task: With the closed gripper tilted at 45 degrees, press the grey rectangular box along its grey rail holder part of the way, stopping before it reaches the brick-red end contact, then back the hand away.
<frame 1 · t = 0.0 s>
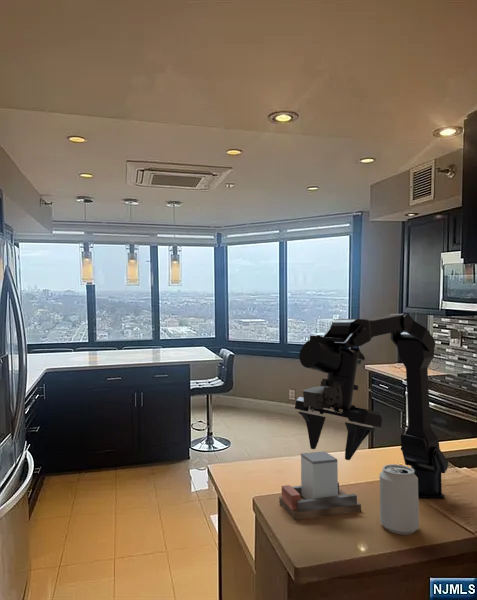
hand: (329, 454, 89), 15 cm above the countertop, tool pointing down, fingers open, 9 cm apart
grey rectangular box: (319, 477, 100), point 7 cm above the countertop, slide at 0.0 cm
can: (399, 528, 90), on the countertop
grey rail holder: (319, 507, 100), on the countertop
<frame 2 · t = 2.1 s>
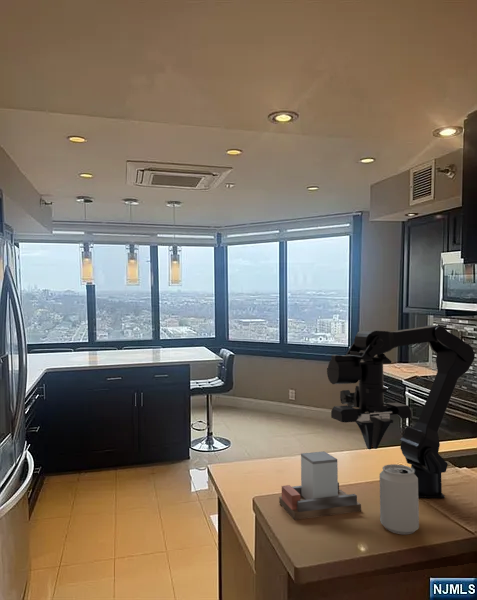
hand: (372, 448, 105), 12 cm above the countertop, tool pointing down, fingers closed
nothing on the countertop moved.
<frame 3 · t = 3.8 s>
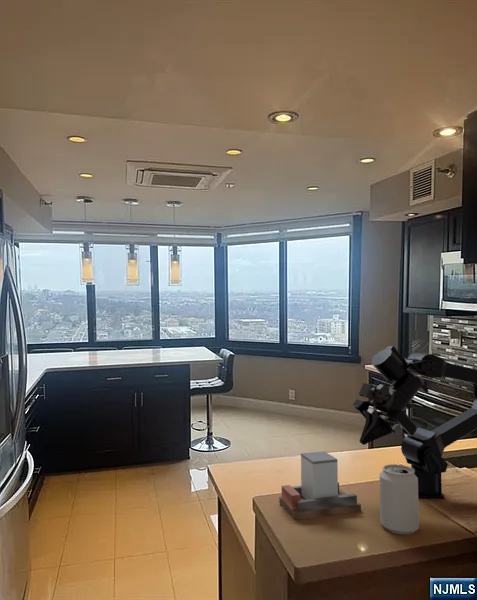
hand: (361, 443, 104), 14 cm above the countertop, tool tilted 45°, fingers closed
nothing on the countertop moved.
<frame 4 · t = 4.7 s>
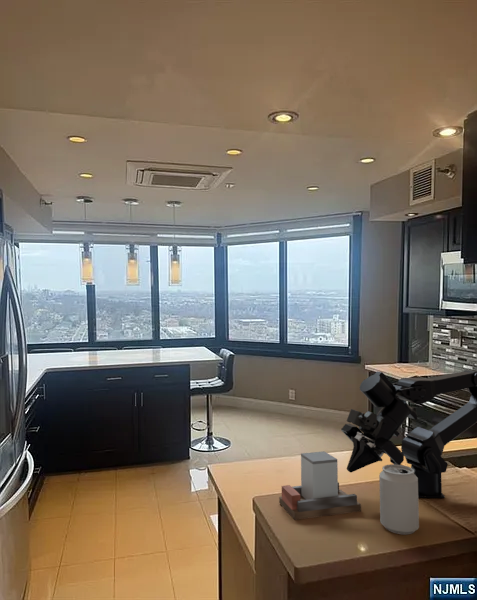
hand: (348, 470, 103), 7 cm above the countertop, tool tilted 45°, fingers closed
nothing on the countertop moved.
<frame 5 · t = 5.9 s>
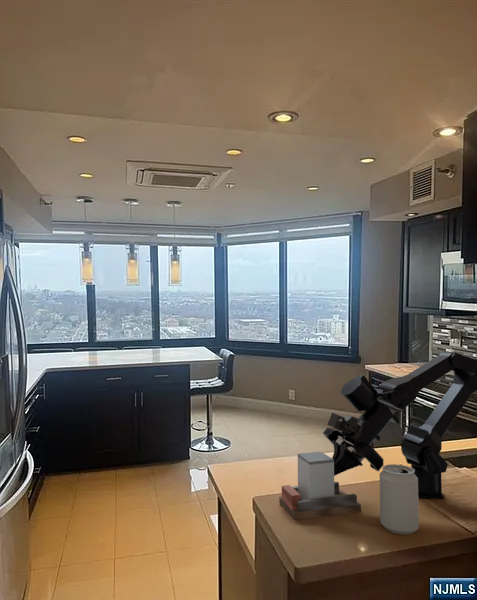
hand: (328, 475, 101), 7 cm above the countertop, tool tilted 45°, fingers closed, pressing on grey rectangular box
grey rectangular box: (315, 477, 100), point 7 cm above the countertop, slide at 0.9 cm, touching gripper
everything else where it was.
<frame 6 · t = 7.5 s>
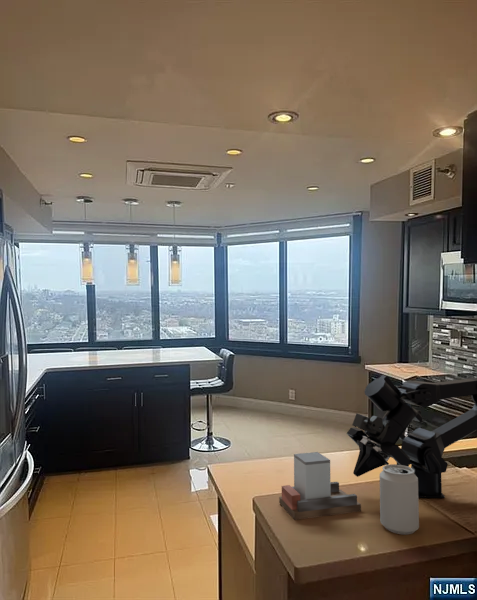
hand: (355, 475, 103), 6 cm above the countertop, tool tilted 45°, fingers closed
grey rectangular box: (311, 478, 100), point 7 cm above the countertop, slide at 1.8 cm
everything else where it was.
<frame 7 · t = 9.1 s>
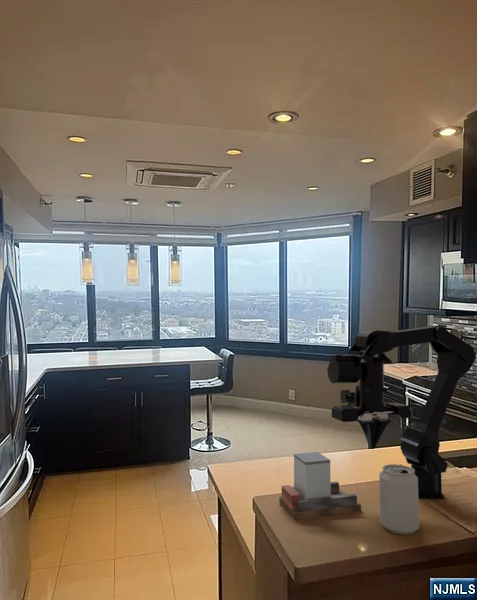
hand: (372, 448, 105), 12 cm above the countertop, tool pointing down, fingers closed
nothing on the countertop moved.
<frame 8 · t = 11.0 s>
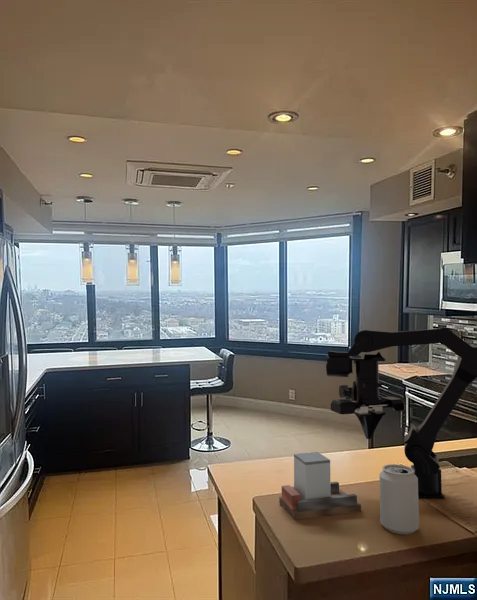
hand: (368, 438, 114), 12 cm above the countertop, tool pointing down, fingers closed
nothing on the countertop moved.
at the end: grey rectangular box slide at 1.8 cm; the gripper is holding nothing; can moved 0.2 cm from its start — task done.
